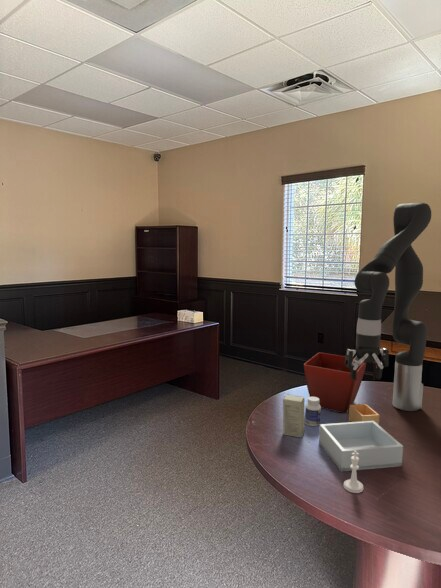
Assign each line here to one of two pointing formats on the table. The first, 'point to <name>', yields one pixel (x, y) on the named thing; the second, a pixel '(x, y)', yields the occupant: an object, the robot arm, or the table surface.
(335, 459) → the big crate
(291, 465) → the table surface
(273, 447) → the table surface
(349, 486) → the chess piece
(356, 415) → the small crate
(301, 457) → the table surface
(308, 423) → the pill bottle
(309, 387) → the plant pot
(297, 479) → the table surface
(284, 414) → the skincare box
